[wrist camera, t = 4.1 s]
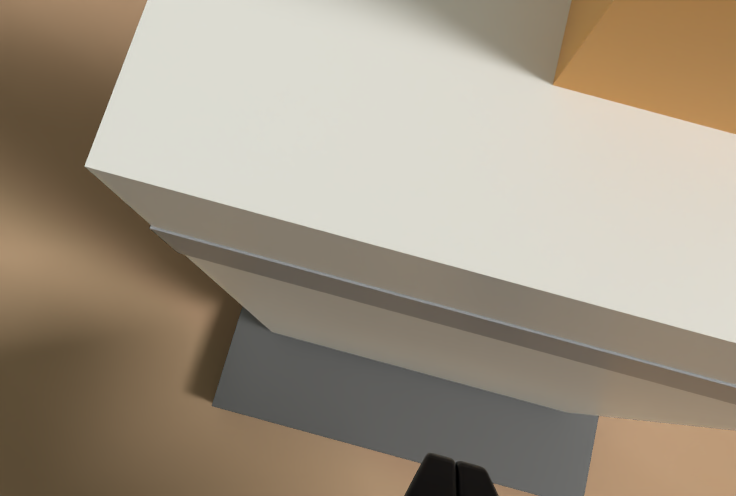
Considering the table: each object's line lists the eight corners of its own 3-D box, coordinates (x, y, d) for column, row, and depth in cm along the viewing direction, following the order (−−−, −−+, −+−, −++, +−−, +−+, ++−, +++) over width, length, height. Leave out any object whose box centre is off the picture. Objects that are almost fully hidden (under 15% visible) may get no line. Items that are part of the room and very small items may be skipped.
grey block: (786, 560, 16) (1324, 767, 7) (3, 346, 16) (-385, 298, 8) (844, 73, 19) (1280, -196, 10) (177, -106, 19) (44, -523, 10)
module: (566, 413, 16) (2061, 582, 2) (271, 333, 16) (-131, -16, 2) (597, 252, 16) (1800, -367, 3) (318, 176, 16) (242, -780, 3)
